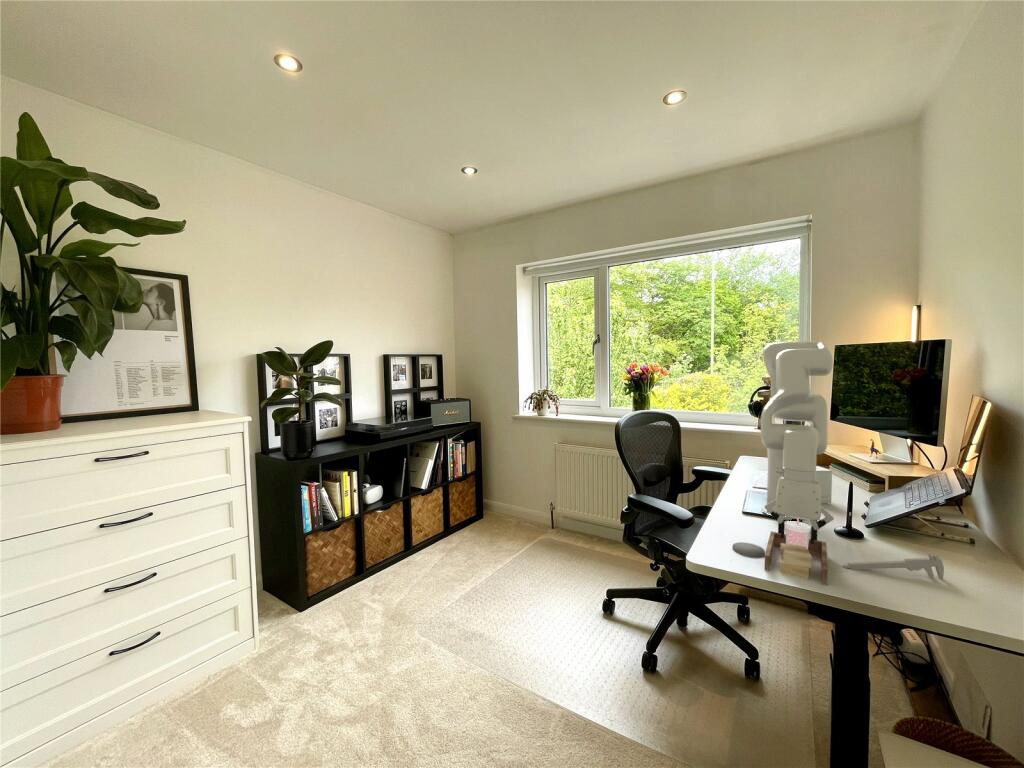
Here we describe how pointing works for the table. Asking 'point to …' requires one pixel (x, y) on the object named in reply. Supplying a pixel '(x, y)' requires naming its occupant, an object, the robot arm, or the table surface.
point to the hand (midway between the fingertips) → (797, 538)
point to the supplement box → (824, 483)
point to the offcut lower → (794, 570)
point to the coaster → (748, 549)
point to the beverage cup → (797, 533)
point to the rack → (814, 549)
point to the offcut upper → (795, 555)
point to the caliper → (904, 565)
